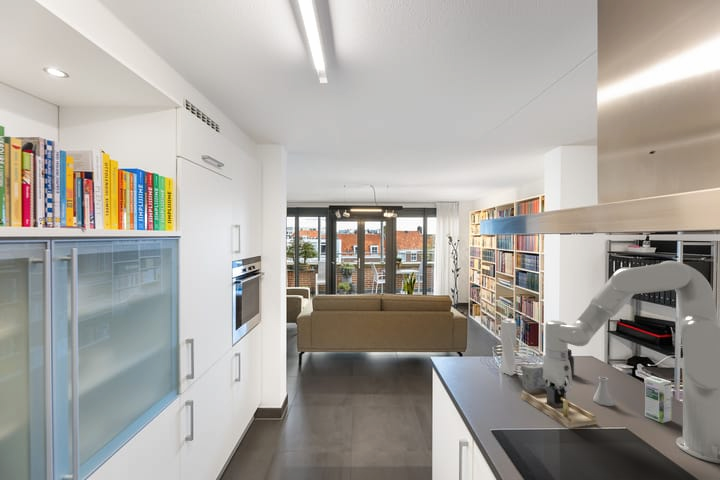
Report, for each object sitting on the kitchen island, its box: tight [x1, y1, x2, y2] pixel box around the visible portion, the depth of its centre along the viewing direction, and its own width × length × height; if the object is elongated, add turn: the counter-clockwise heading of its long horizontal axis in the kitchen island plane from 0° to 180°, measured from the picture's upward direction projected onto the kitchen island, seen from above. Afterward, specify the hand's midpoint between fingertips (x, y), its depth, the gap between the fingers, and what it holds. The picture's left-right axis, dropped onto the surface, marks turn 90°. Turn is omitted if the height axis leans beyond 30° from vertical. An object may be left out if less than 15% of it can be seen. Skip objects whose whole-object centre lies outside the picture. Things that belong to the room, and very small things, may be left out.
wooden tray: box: [520, 385, 597, 429], centre depth 135 cm, size 24×12×9 cm, turn 14°
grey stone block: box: [520, 362, 547, 388], centre depth 155 cm, size 10×8×10 cm
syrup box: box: [644, 375, 672, 424], centre depth 129 cm, size 6×6×14 cm
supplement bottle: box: [568, 348, 575, 377], centre depth 172 cm, size 7×7×12 cm
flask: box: [592, 376, 615, 407], centre depth 141 cm, size 7×7×10 cm
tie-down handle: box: [545, 385, 567, 409], centre depth 135 cm, size 3×8×7 cm, turn 104°
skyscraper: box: [500, 315, 518, 376], centre depth 173 cm, size 8×8×28 cm
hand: (556, 400), depth 135 cm, fingers closed on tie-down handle, 3 cm apart
